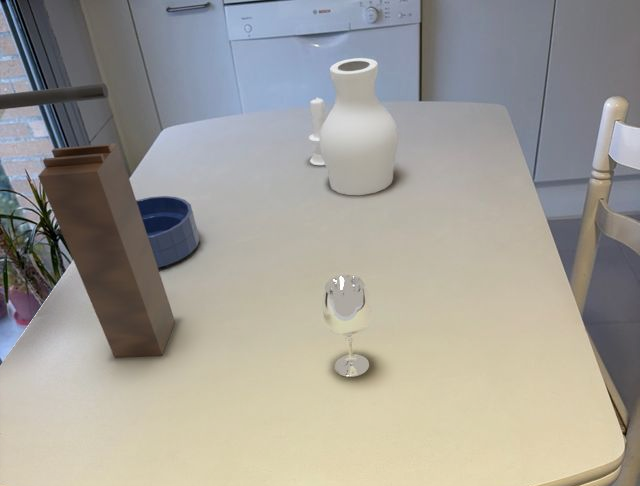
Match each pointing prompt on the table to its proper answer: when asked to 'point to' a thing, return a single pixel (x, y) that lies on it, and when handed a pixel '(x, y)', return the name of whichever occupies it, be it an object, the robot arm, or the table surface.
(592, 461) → the table surface
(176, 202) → the bowl
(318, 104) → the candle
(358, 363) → the wineglass
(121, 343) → the stand
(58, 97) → the chopstick
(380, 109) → the vase
